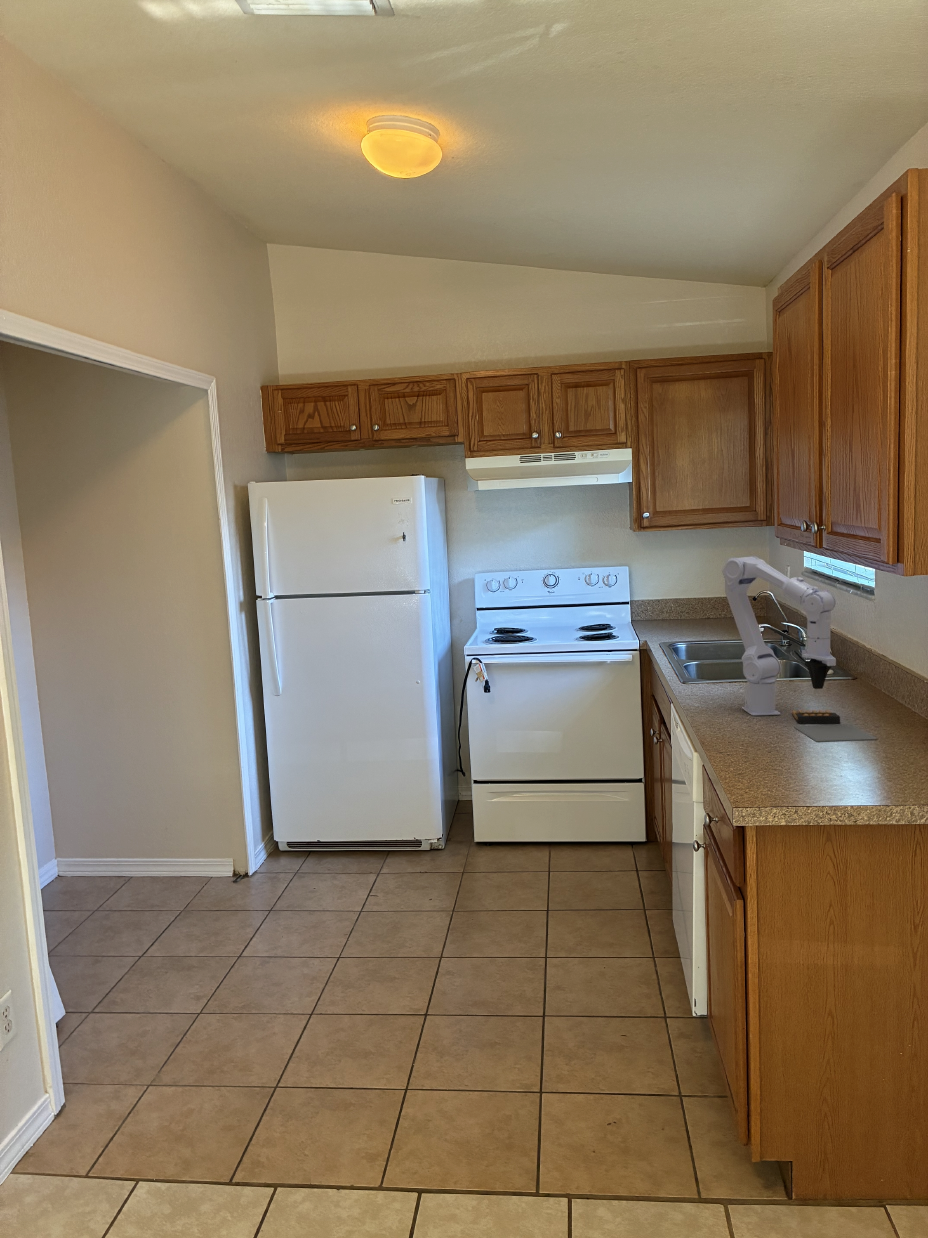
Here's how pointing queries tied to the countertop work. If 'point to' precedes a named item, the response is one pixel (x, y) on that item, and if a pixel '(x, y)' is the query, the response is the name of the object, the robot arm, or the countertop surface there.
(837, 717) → the ammunition clip
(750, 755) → the countertop surface
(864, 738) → the mat
